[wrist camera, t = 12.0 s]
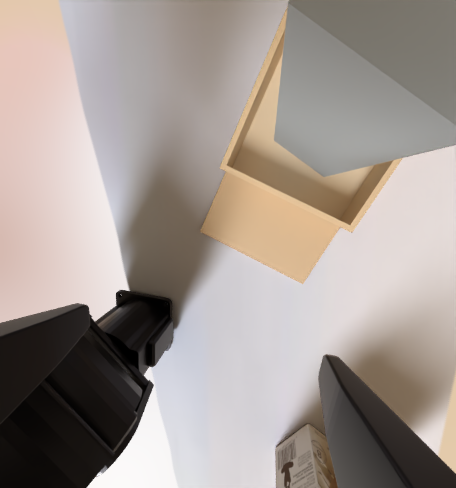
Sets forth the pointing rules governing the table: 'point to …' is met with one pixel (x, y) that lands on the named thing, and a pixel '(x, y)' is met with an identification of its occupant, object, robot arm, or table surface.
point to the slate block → (366, 81)
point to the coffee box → (305, 461)
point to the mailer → (283, 188)
